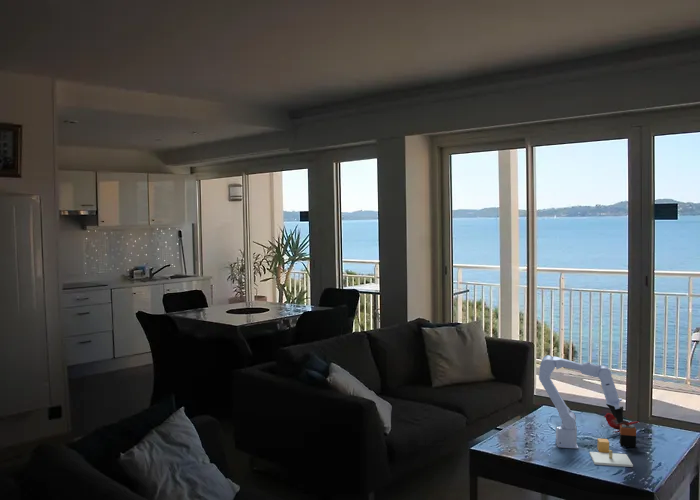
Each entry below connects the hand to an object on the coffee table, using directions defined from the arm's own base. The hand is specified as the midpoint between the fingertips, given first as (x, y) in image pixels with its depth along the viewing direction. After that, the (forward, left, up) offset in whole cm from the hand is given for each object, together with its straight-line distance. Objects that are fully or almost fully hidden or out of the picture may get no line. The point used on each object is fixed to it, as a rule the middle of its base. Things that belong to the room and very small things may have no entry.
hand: (618, 419), depth 291 cm
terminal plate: (-6, -11, -15) cm, 20 cm away
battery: (+6, +9, -15) cm, 19 cm away
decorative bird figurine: (+7, +26, -15) cm, 31 cm away
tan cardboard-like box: (-7, 0, -15) cm, 17 cm away
